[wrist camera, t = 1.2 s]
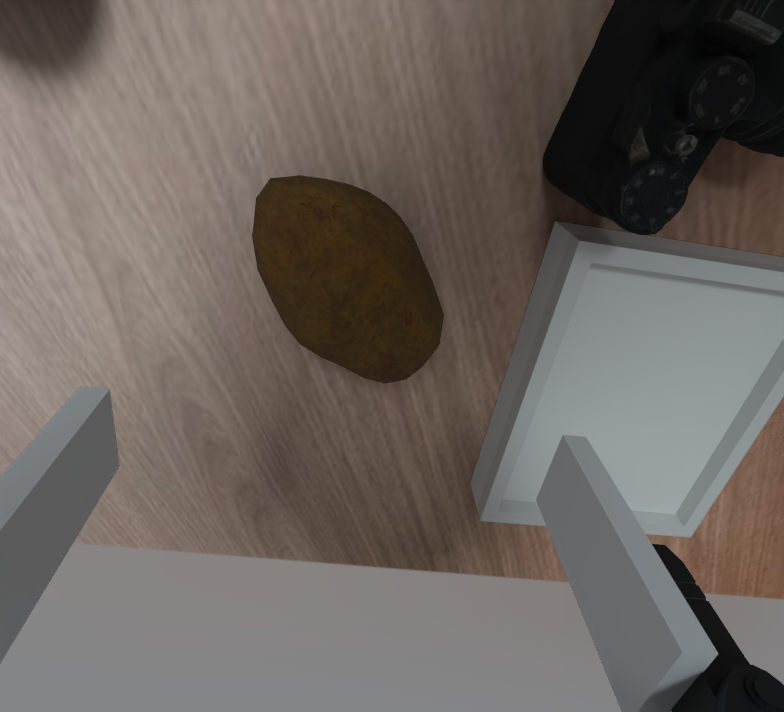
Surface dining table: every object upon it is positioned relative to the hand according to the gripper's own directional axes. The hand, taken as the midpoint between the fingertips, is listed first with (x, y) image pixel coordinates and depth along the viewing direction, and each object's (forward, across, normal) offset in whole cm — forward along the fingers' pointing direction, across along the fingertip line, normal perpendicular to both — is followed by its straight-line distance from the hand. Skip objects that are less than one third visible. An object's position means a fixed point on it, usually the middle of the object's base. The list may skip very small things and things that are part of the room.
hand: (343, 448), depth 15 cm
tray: (+16, +19, -6) cm, 26 cm away
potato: (+16, 0, 0) cm, 17 cm away
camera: (+16, +15, +12) cm, 25 cm away
